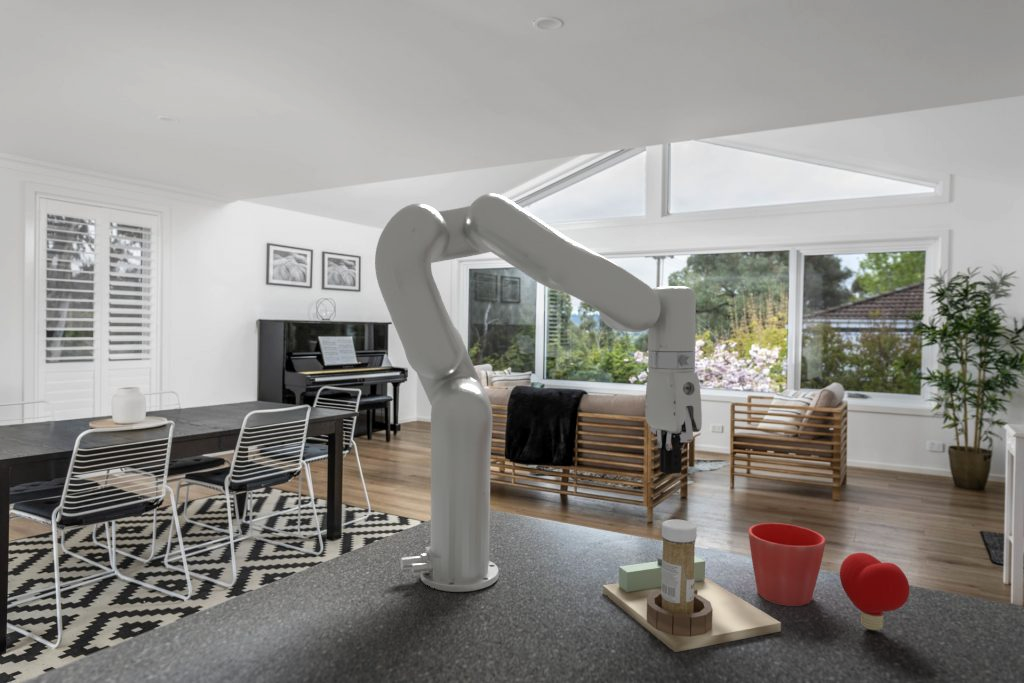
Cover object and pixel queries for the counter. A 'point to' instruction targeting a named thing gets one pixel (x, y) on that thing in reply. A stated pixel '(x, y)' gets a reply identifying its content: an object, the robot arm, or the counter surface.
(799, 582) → the flower pot
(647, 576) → the bar
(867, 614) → the red heart figurine
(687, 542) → the sprinkles bottle
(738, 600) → the board
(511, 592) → the counter surface
